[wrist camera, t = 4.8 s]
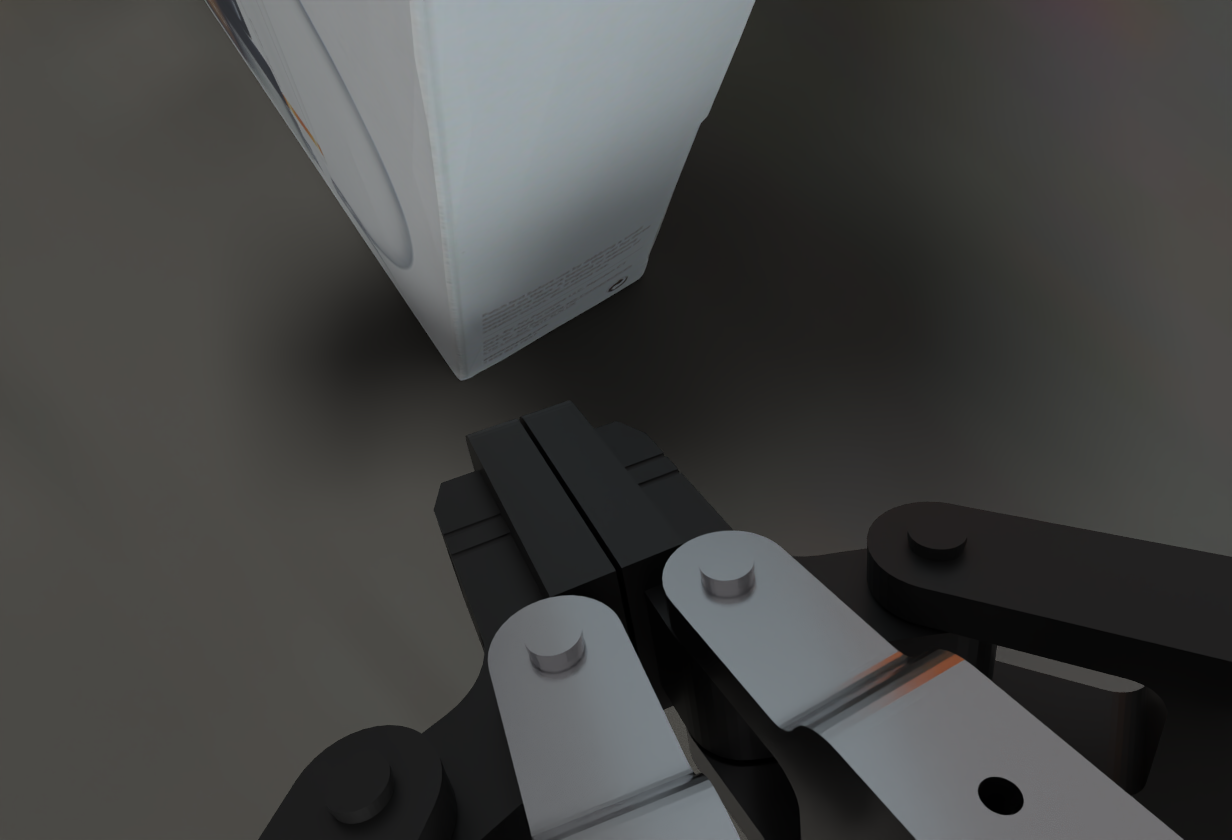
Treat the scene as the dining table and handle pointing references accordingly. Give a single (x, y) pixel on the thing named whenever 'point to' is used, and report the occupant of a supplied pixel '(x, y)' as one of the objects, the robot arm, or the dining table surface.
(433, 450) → the dining table surface
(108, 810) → the dining table surface
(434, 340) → the skincare box
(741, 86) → the dining table surface
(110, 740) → the dining table surface
